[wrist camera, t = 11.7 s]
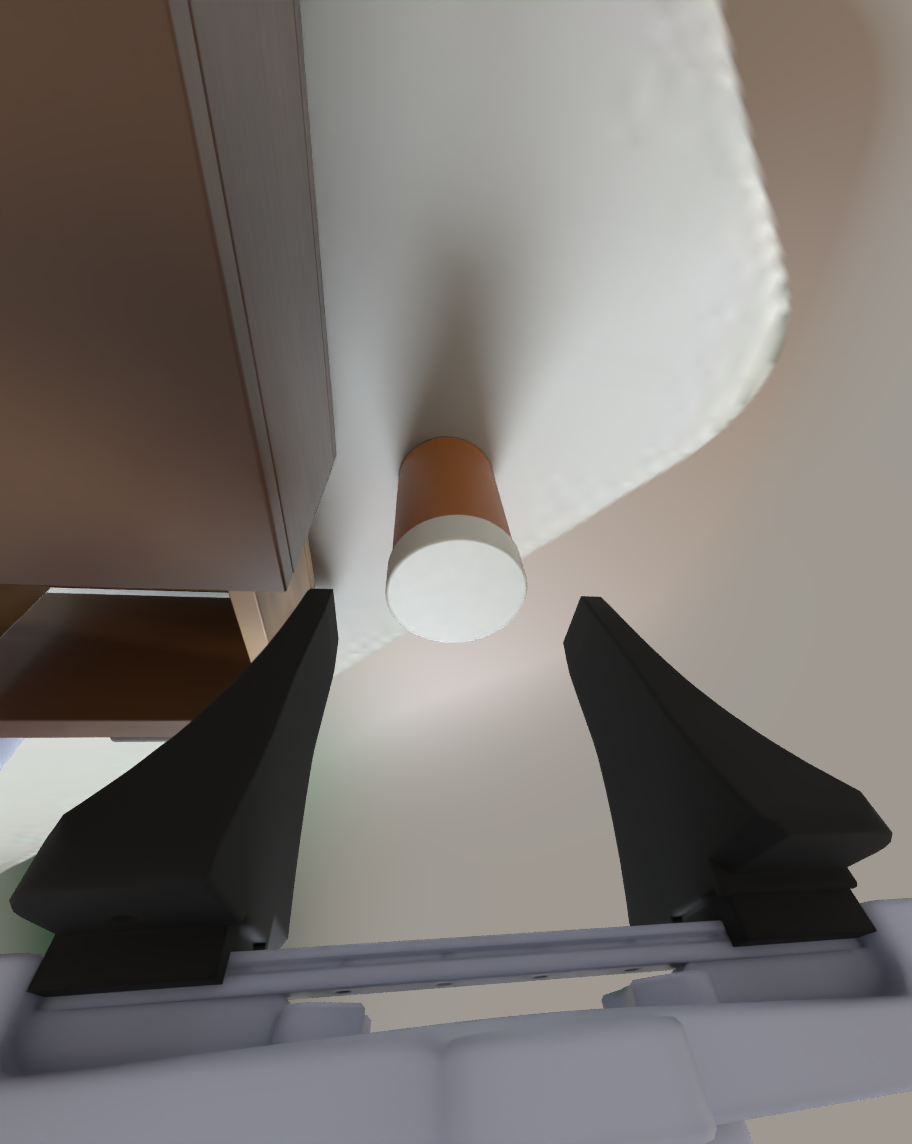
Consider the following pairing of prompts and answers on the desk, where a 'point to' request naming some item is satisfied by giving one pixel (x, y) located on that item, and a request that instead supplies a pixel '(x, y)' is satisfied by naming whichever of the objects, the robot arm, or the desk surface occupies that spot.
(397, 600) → the pill bottle
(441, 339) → the desk surface
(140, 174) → the cabinet
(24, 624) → the drawer
